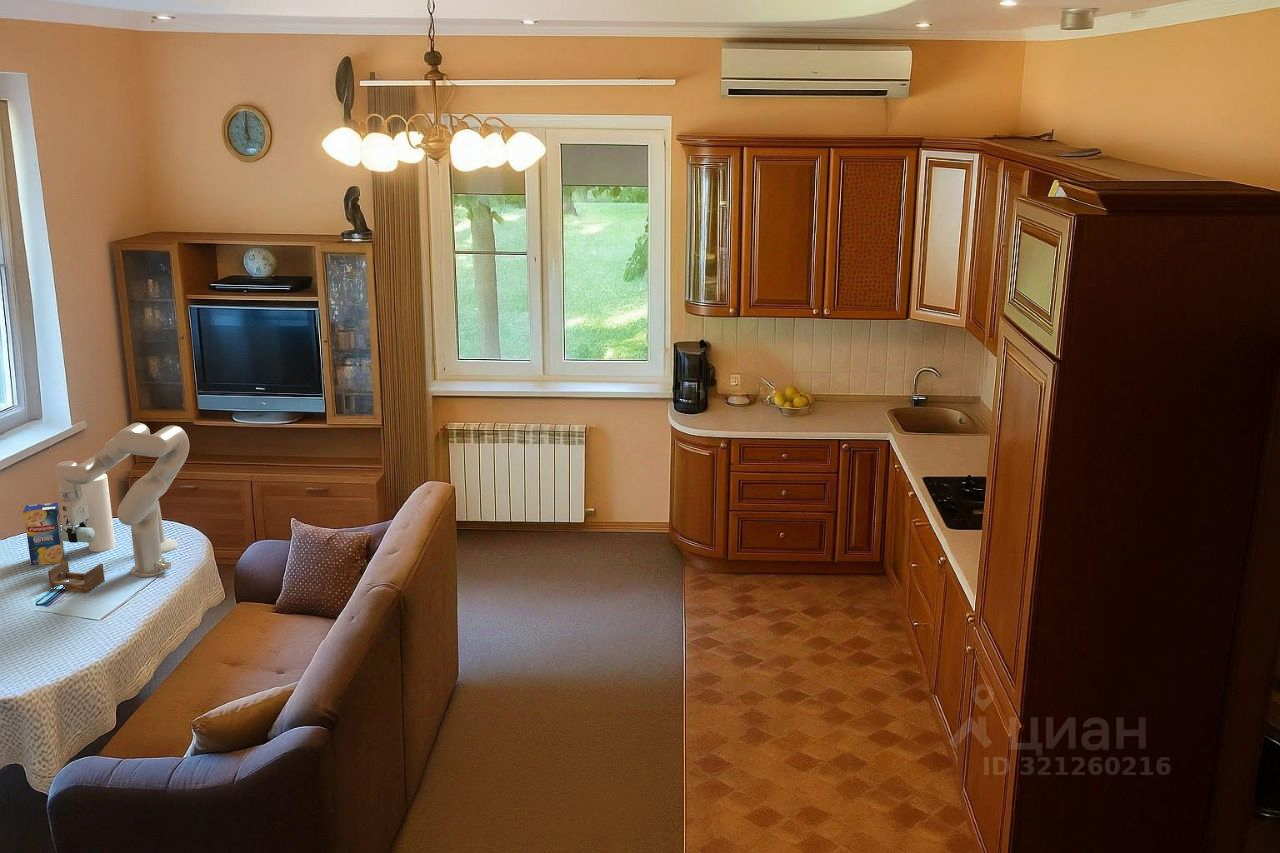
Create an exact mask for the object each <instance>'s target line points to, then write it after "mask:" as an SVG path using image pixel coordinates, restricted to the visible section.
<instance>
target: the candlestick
mask: <svg viewBox="0 0 1280 853" xmlns="http://www.w3.org/2000/svg"><path fill="white" fill-rule="evenodd" d="M162 519H163V518H162V512H161V506H160V504H159V514H158V523H159V535H160V544H161V554H164V553H169V552H171V551H174V550H176V549H177V548H178V547H179V543H178V541H177V540H175V539H172V538H166V537H165V532H164V525H163V520H162ZM177 546H178V547H177ZM168 551H169V552H168Z"/></svg>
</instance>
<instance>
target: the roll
mask: <svg viewBox="0 0 1280 853" xmlns="http://www.w3.org/2000/svg"><path fill="white" fill-rule="evenodd" d="M70 529H72V526H70ZM75 532H76V535H77V543H90V542H92V541H93V539H94V536H95V532H94V530H93V528H85V527H78V526H75ZM61 538H62V540H63V542H69V540H68V534H67V533H66V531H64V530H63V529H61Z"/></svg>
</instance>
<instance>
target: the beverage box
mask: <svg viewBox="0 0 1280 853" xmlns="http://www.w3.org/2000/svg"><path fill="white" fill-rule="evenodd" d="M60 515H61V514H60V509H59V502H57V501H56V502H49V503H35V504H34V503H33V504H26V505H25V507H24V509H23V517H24V522H25V523H24V525H25V531H26V532H25V533H26V539H27V545H28V553H29V558H30V559H29V560H30V566H39V565H49V564H60V563H61V562H63V561H64V560H65V554H66V553H65V547H64V541H63V540H62V538H61V531H62V529H61V526H62V523H61V518H60Z"/></svg>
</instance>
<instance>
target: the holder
mask: <svg viewBox="0 0 1280 853" xmlns="http://www.w3.org/2000/svg"><path fill="white" fill-rule="evenodd" d="M69 567H70V566H69V560H67V559H64V560H63V562H60V563H57V565H55V566H54V567H52V568H51V569H49V570H47V576H48V583H49V589H50V590H52V589H51V588H54V587H56V586H59V585H63V586H65V589H66V590H65V591H67V592H68V591H69V592H77V593H86V594H87V592H88V593H90V592H91V591H92V590H95V587H96V588H97V587H98V585H99V586H100V585H102V584H103V583H104V582H105V581H106V579H105V572H104V564H103V563H99V564H97V565H96V566H94V567H92V568H91V569H90V570H88V571H86V572H85V573H84V572H83V573H81V572H74V571H73V572H71V571H70V568H69ZM64 580H69V582H63V581H64Z"/></svg>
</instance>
